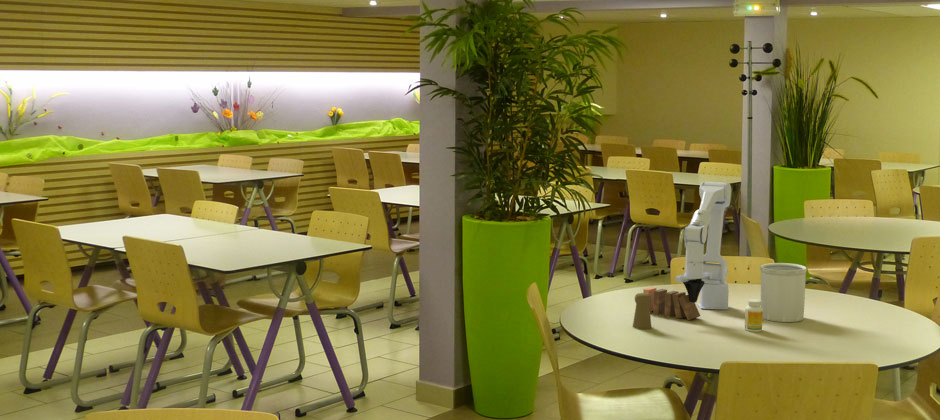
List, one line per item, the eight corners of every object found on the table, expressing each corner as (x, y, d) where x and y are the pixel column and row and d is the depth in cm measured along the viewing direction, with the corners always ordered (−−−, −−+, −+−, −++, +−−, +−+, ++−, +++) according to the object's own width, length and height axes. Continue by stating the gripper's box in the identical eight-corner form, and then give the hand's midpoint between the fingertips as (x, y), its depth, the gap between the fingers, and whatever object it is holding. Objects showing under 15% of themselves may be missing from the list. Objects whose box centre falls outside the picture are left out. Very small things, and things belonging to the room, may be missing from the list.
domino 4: (689, 315, 333) (685, 292, 333) (681, 318, 329) (677, 294, 329) (684, 315, 334) (680, 292, 334) (676, 318, 330) (672, 294, 331)
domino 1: (655, 310, 342) (656, 287, 341) (647, 313, 338) (648, 290, 337) (650, 309, 343) (651, 287, 342) (642, 312, 339) (643, 289, 338)
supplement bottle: (741, 328, 317) (742, 299, 315) (755, 327, 318) (756, 298, 317) (751, 332, 311) (752, 302, 310) (765, 331, 313) (766, 301, 312)
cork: (652, 325, 320) (653, 292, 319) (650, 330, 314) (651, 296, 313) (634, 324, 322) (635, 291, 321) (631, 328, 316) (631, 294, 315)
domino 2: (666, 312, 339) (667, 289, 338) (658, 314, 335) (659, 291, 334) (661, 311, 340) (662, 288, 339) (653, 314, 337) (654, 290, 336)
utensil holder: (750, 317, 331) (752, 266, 329) (770, 310, 342) (772, 260, 340) (792, 325, 321) (794, 272, 319) (811, 317, 332) (814, 266, 330)
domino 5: (700, 315, 330) (690, 293, 331) (692, 318, 326) (682, 296, 328) (696, 318, 331) (686, 296, 333) (687, 320, 327) (678, 298, 329)
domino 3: (677, 314, 336) (678, 291, 335) (669, 317, 332) (670, 293, 331) (672, 313, 337) (673, 290, 336) (664, 316, 333) (665, 292, 332)
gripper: (702, 257, 334) (700, 297, 335) (669, 261, 326) (668, 301, 328) (717, 261, 328) (715, 301, 329) (684, 264, 320) (682, 306, 322)
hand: (693, 301), depth 328 cm, fingers closed
